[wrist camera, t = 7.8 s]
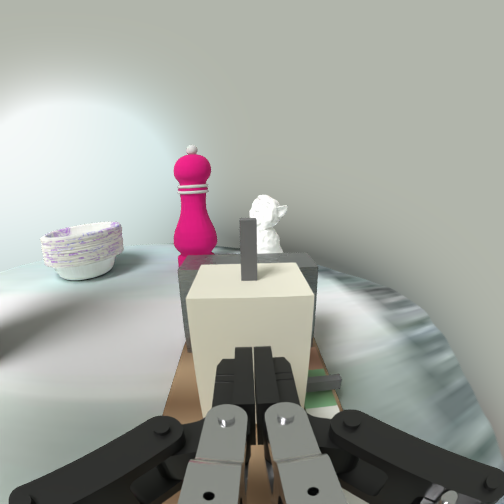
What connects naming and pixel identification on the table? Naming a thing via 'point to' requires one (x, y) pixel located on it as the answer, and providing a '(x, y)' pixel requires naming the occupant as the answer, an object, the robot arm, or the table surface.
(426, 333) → the table surface
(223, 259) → the grey rectangular block
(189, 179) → the pepper mill
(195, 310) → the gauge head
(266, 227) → the white creature statuette
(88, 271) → the paper bowls
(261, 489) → the brown wooden board
